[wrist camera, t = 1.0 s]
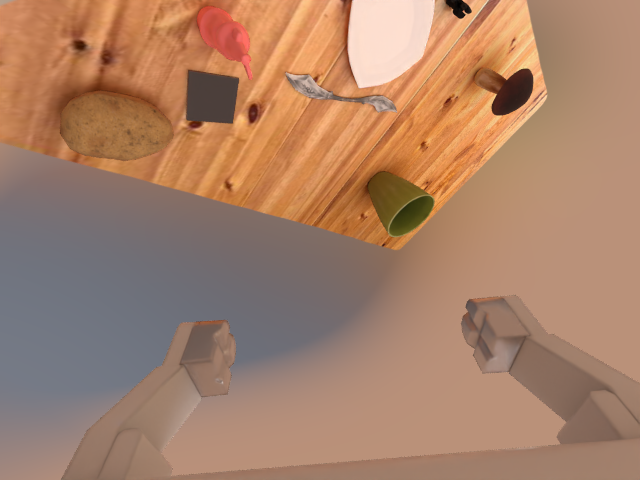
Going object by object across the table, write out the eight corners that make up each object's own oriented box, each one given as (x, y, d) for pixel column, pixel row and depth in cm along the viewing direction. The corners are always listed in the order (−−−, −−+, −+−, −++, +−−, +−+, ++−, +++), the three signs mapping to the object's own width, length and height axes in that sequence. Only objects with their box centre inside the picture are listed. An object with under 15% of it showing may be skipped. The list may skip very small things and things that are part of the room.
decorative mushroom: (500, 62, 82) (551, 87, 74) (469, 101, 87) (513, 128, 79) (486, 42, 74) (540, 67, 66) (453, 86, 79) (499, 114, 71)
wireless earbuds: (461, 4, 64) (479, 11, 61) (453, 18, 65) (471, 25, 62) (442, -12, 59) (462, -5, 57) (434, 3, 61) (452, 11, 58)
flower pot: (352, 207, 96) (383, 244, 87) (360, 167, 84) (396, 205, 76) (391, 193, 101) (424, 227, 92) (404, 154, 90) (442, 188, 81)
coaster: (188, 69, 48) (188, 70, 48) (238, 77, 53) (239, 78, 53) (186, 119, 54) (186, 120, 53) (232, 122, 58) (232, 123, 58)
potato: (168, 142, 55) (179, 168, 51) (67, 143, 48) (69, 173, 43) (165, 85, 48) (177, 109, 44) (48, 75, 41) (48, 104, 37)
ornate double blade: (285, 69, 55) (278, 96, 59) (286, 70, 55) (279, 98, 58) (405, 94, 73) (395, 114, 77) (407, 95, 73) (396, 115, 76)
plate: (434, -57, 53) (442, -55, 52) (422, 59, 69) (428, 62, 68) (336, -15, 50) (342, -11, 49) (347, 96, 66) (352, 100, 65)
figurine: (234, 34, 48) (273, 74, 40) (204, 48, 47) (237, 91, 39) (220, -5, 44) (260, 31, 36) (186, 9, 43) (219, 49, 35)
